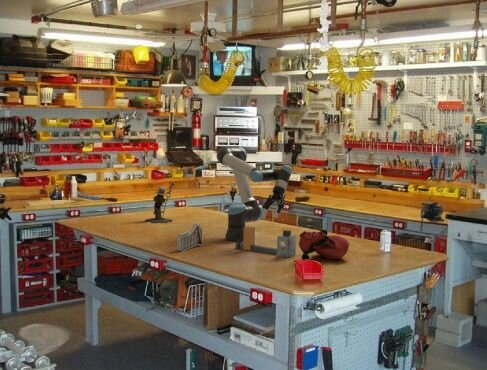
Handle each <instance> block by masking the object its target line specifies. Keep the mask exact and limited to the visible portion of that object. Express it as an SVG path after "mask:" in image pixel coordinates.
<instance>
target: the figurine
mask: <svg viewBox="0 0 487 370" xmlns="http://www.w3.org/2000/svg"><path fill="white" fill-rule="evenodd" d="M175 186H176V183H173V182H171V184H170V187H169V190H168V191H167V192H166V187H164V186H159V187H158V189H157V190H158V191H155V193H154V194H157V195H155V196H154V197H153V201H154V206H153V210H154V211H153V212H152V214H153V215H154V217H152V218H151V217H150V218H147V219H144V220H145V221H146V222H145V223H147V222H151V223H150V224H157V223H160V224H169V223H168V222H170V223H172V221H173V222H174V220H173V219H171V218H168V217H164V214H165V211H166V210H165V209H166V205H167V202H168V199H170V198H171V196H172V194H171V193H172V192H173V188H174V187H175ZM167 194H169V196H168V195H167ZM163 205H164V208H163V210H162V208H161V207H163Z"/></svg>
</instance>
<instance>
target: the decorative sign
mask: <svg viewBox="0 0 487 370" xmlns="http://www.w3.org/2000/svg"><path fill="white" fill-rule="evenodd" d="M203 240H204V239H203V227H201V224H198V223H194V224H193V225H192V227H191V228H190V229H189V231H183V232H181V233H178V236H177V238H176V243H177V244H176V249H177V251H178V252H185V251H187V250H189V249H192V248H194V247H197V246H200V247H201V246H202V247H203V246H204V243H203Z"/></svg>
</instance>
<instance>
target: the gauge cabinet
mask: <svg viewBox="0 0 487 370" xmlns="http://www.w3.org/2000/svg"><path fill="white" fill-rule="evenodd" d="M276 237H277V238H276V241H277V242H276V248H277V255H276V257H280V258H284V259H285V258H286V259H287V258H291V257H294V256H296V251H297V250H296V249H297V235H296V234H292V233H291V235H288V237H286V236H285V235H283V234H280V235H277V236H276Z"/></svg>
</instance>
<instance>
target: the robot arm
mask: <svg viewBox="0 0 487 370" xmlns="http://www.w3.org/2000/svg"><path fill="white" fill-rule="evenodd" d="M247 158H248V154H247V150H245V149H244V147H241V146H223V147H221V148H218V150H217V151H216V160H217V162H218V163H220V164H221V165H222V166H225V167H228V168H229V169H231V170H232V173H233V176H234V179H235V183H236V187H237V191H238V193H239V194H238V195H239V196H240V201H241V202H240V203H233V204H230V205H228V210H227V231H226V232H225V236H224V237H225V238H224V239H225V240H226V241H229V242H244V227H246V223H252V222H257V221H260V220H261V219H262V220H265V219H266V216H267V214H268V210H269V208H270V207H271V206H272V205H273V204H274V203H277V207H276V209H275V212H274V215H273V217H274V218H275V219H278V218H279V216H280V213H281V210H282V209H283V208H285V199H286V194H285V193H286V190H287V187H288V184H289V180H290V179H291V176H292V173H293V168H292V167H291V166H290V165H287V164H283V165H281V166H280V168H276V169H275V168H274V169H273V168H271V169H270V168H269V169H260V168H258V167H256V166H254V165H252V164H250V163H248V162H247ZM249 178H250V180H251V182H253V183H262V182H263V183H265V182H275V184H274V186H273V188H272V193H273V194H272V195H271V194H269V195H268V198H267V199H266V201H265V202H264V204H263V205H261V204H260V203H258V201H257V199H255V197H254V194H253V192H252V188H251V184H250V180H249Z"/></svg>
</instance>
